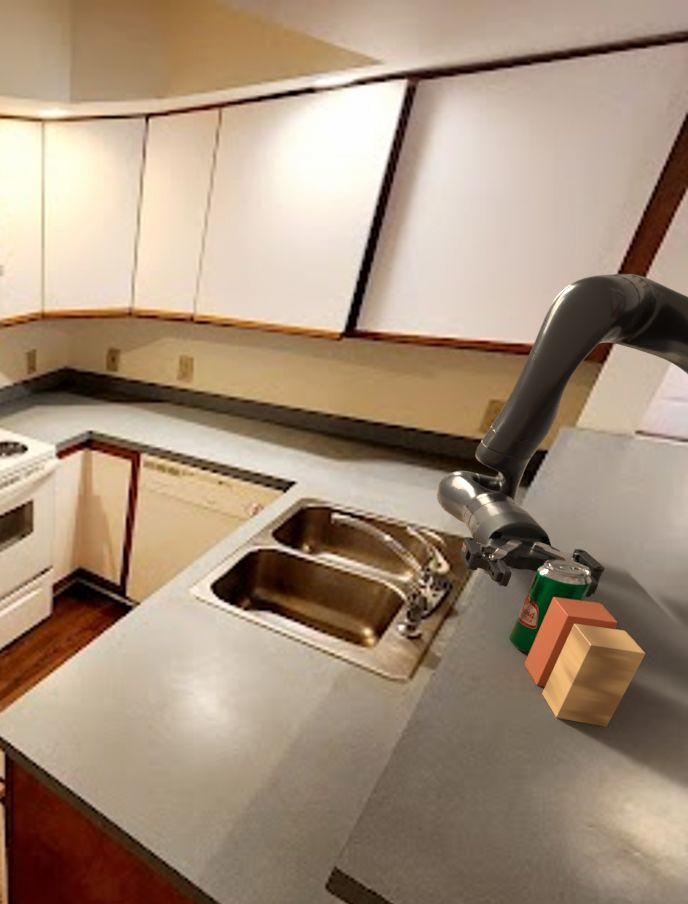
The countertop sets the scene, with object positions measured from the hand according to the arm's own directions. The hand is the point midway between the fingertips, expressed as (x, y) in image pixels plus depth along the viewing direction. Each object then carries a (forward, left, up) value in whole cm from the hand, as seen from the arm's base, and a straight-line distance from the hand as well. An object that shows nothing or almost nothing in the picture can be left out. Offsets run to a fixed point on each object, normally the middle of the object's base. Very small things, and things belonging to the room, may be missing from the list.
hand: (547, 585), depth 80 cm
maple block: (0, +15, -8) cm, 17 cm away
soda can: (0, +3, -8) cm, 9 cm away
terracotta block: (0, +9, -8) cm, 12 cm away
